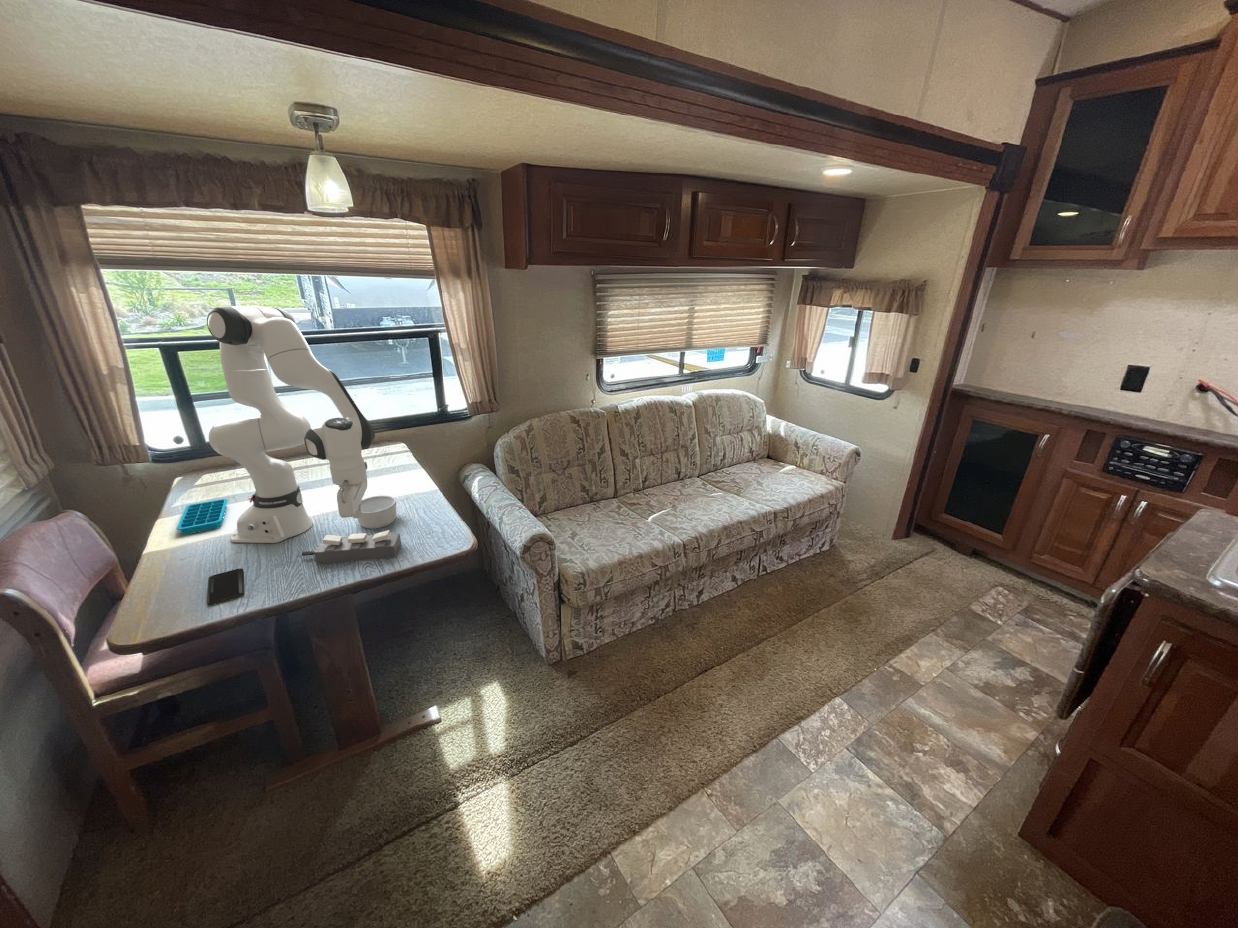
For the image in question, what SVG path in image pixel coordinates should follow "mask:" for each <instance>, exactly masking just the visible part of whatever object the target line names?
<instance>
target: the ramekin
mask: <svg viewBox="0 0 1238 928" xmlns="http://www.w3.org/2000/svg"><path fill="white" fill-rule="evenodd" d="M361 512H362V513H361V515H360V517H359V518H356V519H357V521H358V523H359V525H360V526H362V527H363V528H364V529H372V530H373V529H379V528H384V527H387V526H388V525H390V524H392V523H393V522H394V521H395V519H396V517H397V501H396V499H395V498H394V497H393V496H390V495H374V496H369V497H366V498H362V500H361Z"/></svg>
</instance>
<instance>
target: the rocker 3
mask: <svg viewBox="0 0 1238 928" xmlns="http://www.w3.org/2000/svg"><path fill="white" fill-rule="evenodd" d="M391 534H392V533H391V531H390V529H387V530H385V531H380V532H377V533H375V534H373V535H374V537H373V541H374V543H375V542H378V541H382V540H386V539H389V537H390V535H391Z"/></svg>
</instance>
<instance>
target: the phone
mask: <svg viewBox="0 0 1238 928" xmlns="http://www.w3.org/2000/svg"><path fill="white" fill-rule="evenodd" d="M244 573H245V572H244V569H243V568H242V567H239V568H236V569H235V568H234V569H231V570H227V571H224V572H220V573H216V574H214V575H211V576H209V577H208V581H207V593H206V604H207V606H210V607H211V606H215V605H218V604H219V605H220V604H223V603H225V602H229V601H233V600H236V599H239V598H242V597H244V596H245V575H244Z"/></svg>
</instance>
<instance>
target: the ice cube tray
mask: <svg viewBox="0 0 1238 928" xmlns="http://www.w3.org/2000/svg"><path fill="white" fill-rule="evenodd" d="M227 504H228V498H221V499H220V498H219V499H214V500H209V501H202V502H195V503H192V504H191V503H190V504H188V505H186V506H185V508H184V511H183V512H182V515H181V517H180V519H179V521H178V524H177V527H176V528H175V529H176V530H177V531H181V533H182V535H184V534H185V536H186V535H190V533H191V534H194V533H193V532H196V533H200V532H199V531H201V532H206V531H210V530H211V529H212V530H216V528H217V529H220V528H221V527H222V525H223V522H222V521H223V520H224V518H223V517H225V514H226V511H225V509H226V510H227ZM224 513H225V514H224Z"/></svg>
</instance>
